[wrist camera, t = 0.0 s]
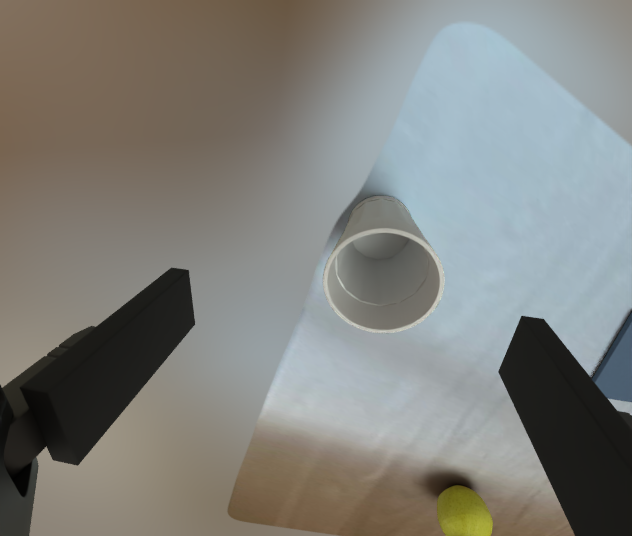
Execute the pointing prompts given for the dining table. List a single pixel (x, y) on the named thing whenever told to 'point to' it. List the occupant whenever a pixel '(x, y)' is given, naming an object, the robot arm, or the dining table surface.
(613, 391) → the mat
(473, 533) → the fruit
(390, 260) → the cup
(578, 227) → the dining table surface
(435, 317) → the dining table surface
